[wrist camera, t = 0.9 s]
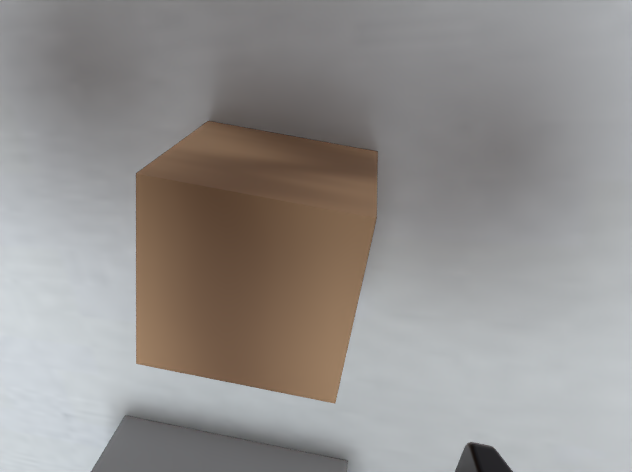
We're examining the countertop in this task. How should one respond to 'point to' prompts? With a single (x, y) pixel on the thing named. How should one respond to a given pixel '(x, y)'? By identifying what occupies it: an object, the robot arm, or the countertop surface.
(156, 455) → the slate block
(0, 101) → the countertop surface
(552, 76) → the countertop surface
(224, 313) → the walnut cube
